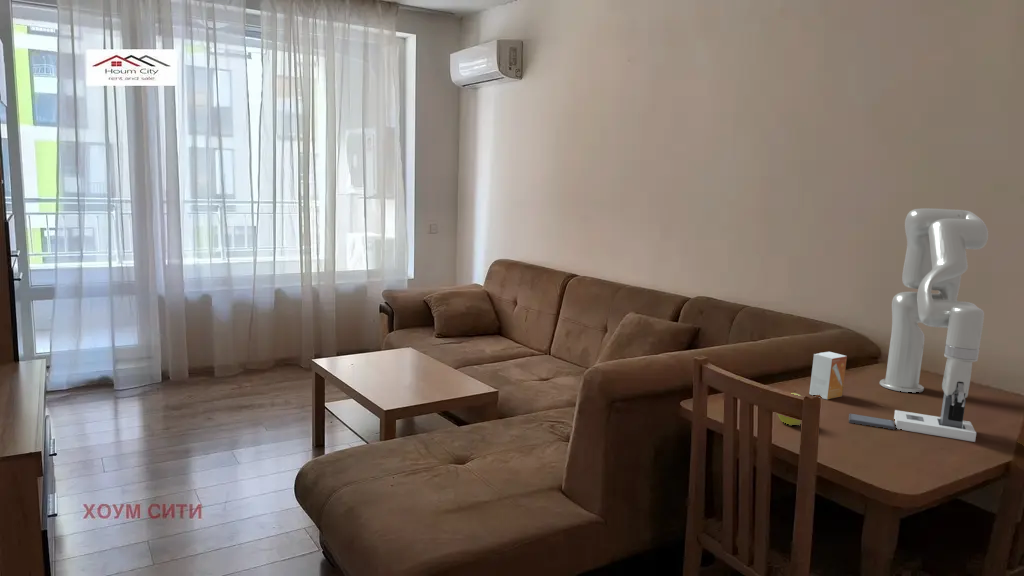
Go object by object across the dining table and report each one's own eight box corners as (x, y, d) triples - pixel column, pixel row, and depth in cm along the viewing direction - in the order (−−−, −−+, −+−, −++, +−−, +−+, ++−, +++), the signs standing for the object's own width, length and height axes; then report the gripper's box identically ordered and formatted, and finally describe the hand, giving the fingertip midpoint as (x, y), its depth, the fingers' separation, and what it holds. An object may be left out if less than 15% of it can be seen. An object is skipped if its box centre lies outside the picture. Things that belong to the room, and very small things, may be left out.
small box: (827, 400, 211) (832, 358, 209) (808, 394, 216) (813, 353, 214) (842, 396, 216) (847, 355, 214) (823, 391, 221) (828, 350, 219)
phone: (848, 416, 197) (849, 413, 197) (893, 423, 192) (893, 420, 192) (848, 422, 191) (849, 419, 191) (894, 430, 187) (894, 426, 187)
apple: (812, 419, 190) (812, 387, 186) (800, 434, 185) (799, 401, 181) (784, 411, 195) (783, 380, 192) (771, 426, 190) (769, 394, 187)
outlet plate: (893, 418, 197) (895, 409, 196) (969, 430, 189) (970, 421, 189) (896, 428, 188) (897, 419, 187) (975, 442, 180) (976, 432, 180)
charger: (939, 428, 190) (944, 392, 188) (958, 431, 188) (963, 395, 186) (940, 433, 186) (945, 396, 184) (960, 436, 184) (965, 399, 182)
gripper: (940, 344, 193) (932, 403, 195) (949, 357, 177) (939, 422, 180) (972, 348, 190) (964, 408, 192) (984, 362, 174) (974, 427, 177)
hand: (952, 415), depth 186 cm, fingers open, 9 cm apart
